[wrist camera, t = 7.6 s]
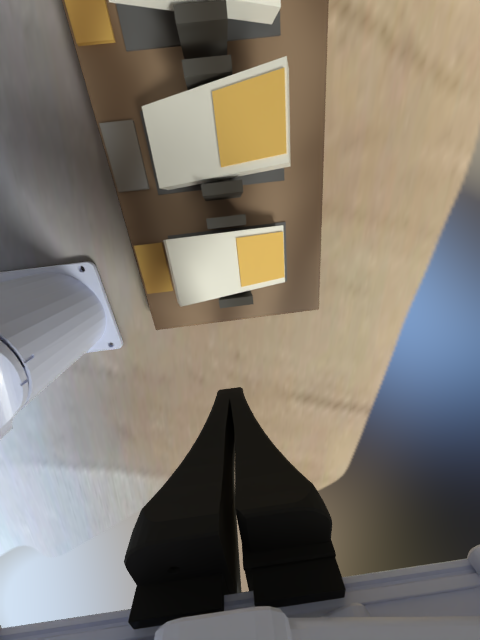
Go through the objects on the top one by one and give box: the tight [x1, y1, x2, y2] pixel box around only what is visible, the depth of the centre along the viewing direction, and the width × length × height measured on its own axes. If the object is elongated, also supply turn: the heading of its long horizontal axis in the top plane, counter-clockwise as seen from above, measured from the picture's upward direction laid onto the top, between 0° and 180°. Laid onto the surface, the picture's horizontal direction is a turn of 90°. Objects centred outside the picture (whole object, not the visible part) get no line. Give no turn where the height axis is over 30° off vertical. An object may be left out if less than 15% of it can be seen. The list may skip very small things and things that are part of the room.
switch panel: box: [62, 0, 329, 330], centre depth 14 cm, size 14×24×5 cm, turn 6°
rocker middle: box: [142, 56, 291, 190], centre depth 12 cm, size 8×4×1 cm, turn 96°
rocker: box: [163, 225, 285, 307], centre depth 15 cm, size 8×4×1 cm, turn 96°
